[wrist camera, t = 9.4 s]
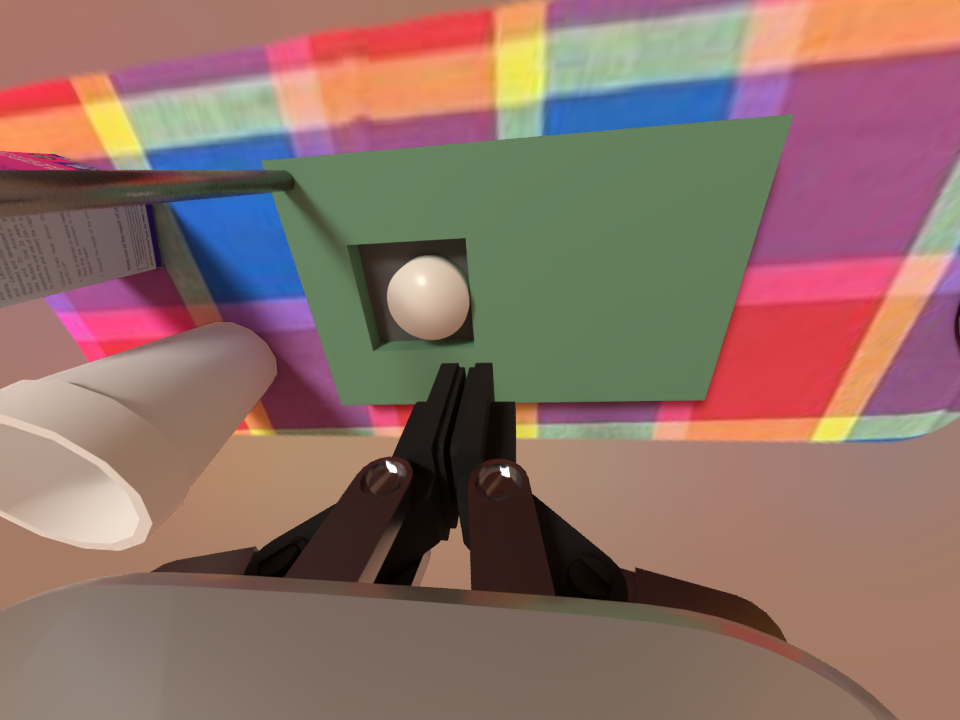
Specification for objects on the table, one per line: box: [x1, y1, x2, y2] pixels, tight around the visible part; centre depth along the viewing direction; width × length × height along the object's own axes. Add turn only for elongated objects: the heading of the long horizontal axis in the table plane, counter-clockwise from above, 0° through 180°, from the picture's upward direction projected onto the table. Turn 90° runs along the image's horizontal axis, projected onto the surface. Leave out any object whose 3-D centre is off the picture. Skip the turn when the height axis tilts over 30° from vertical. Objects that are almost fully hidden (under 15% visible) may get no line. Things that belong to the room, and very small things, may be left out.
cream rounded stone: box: [387, 254, 471, 340], centre depth 21 cm, size 5×5×2 cm
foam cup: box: [0, 322, 277, 551], centre depth 22 cm, size 10×9×13 cm
